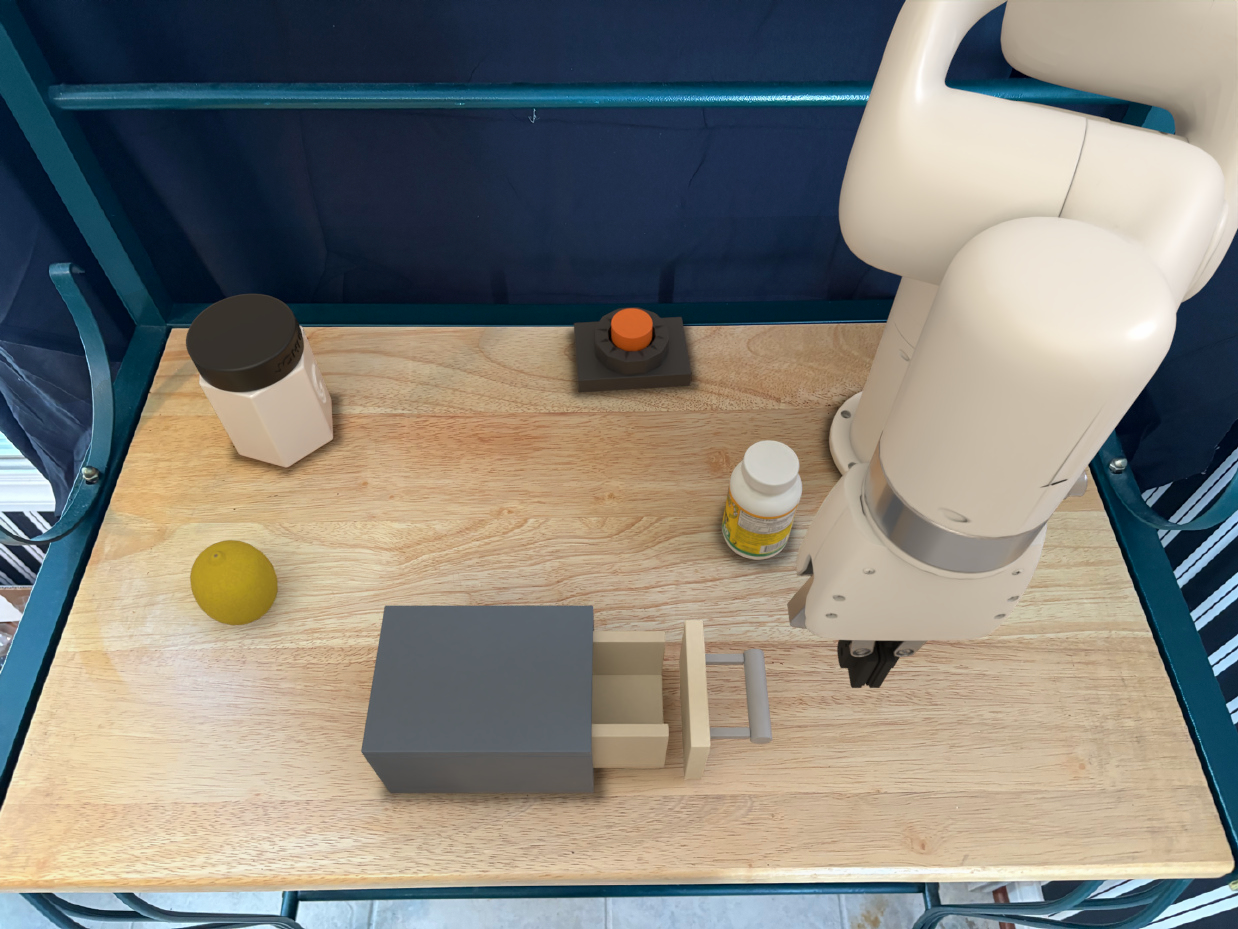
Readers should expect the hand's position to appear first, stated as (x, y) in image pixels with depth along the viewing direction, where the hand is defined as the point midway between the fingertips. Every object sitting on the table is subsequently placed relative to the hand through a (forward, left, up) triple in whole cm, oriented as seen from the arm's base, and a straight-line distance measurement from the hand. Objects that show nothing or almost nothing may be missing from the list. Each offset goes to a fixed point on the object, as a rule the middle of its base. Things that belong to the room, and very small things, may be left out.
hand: (860, 664), depth 54 cm
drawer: (+11, +7, -10) cm, 17 cm away
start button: (+29, -22, -8) cm, 38 cm away
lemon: (+40, +14, -12) cm, 44 cm away
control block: (+29, -22, -11) cm, 38 cm away
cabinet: (+20, +12, -11) cm, 25 cm away
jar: (+50, 0, -12) cm, 52 cm away
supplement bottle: (+11, -12, -12) cm, 20 cm away
